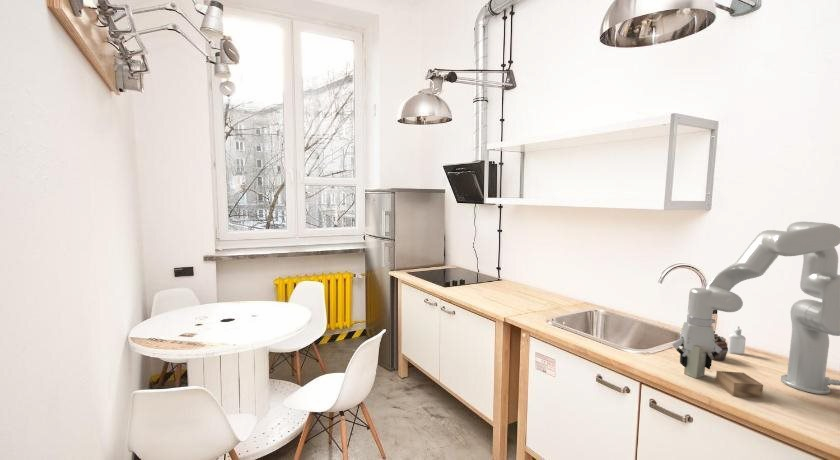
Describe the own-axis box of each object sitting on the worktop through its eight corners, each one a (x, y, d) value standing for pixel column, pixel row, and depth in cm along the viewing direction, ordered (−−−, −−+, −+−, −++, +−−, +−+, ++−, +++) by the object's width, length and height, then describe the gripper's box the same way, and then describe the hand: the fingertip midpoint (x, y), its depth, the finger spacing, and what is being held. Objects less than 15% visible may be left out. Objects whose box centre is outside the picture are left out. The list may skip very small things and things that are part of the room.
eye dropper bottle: (742, 356, 164) (745, 329, 163) (726, 351, 168) (729, 325, 167) (744, 353, 167) (747, 327, 166) (728, 349, 171) (731, 323, 170)
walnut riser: (742, 386, 137) (743, 372, 137) (761, 399, 128) (763, 384, 128) (715, 384, 138) (716, 370, 138) (732, 396, 129) (734, 382, 129)
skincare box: (692, 370, 148) (695, 340, 147) (705, 375, 144) (708, 344, 143) (683, 373, 145) (686, 343, 144) (696, 378, 141) (699, 347, 140)
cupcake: (733, 361, 158) (735, 338, 157) (714, 362, 156) (716, 339, 155) (711, 352, 167) (713, 330, 167) (693, 353, 166) (695, 330, 165)
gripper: (719, 320, 145) (715, 364, 146) (669, 316, 148) (665, 360, 149) (731, 326, 137) (726, 373, 139) (678, 322, 141) (674, 368, 142)
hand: (695, 366), depth 144 cm, fingers closed on skincare box, 7 cm apart
